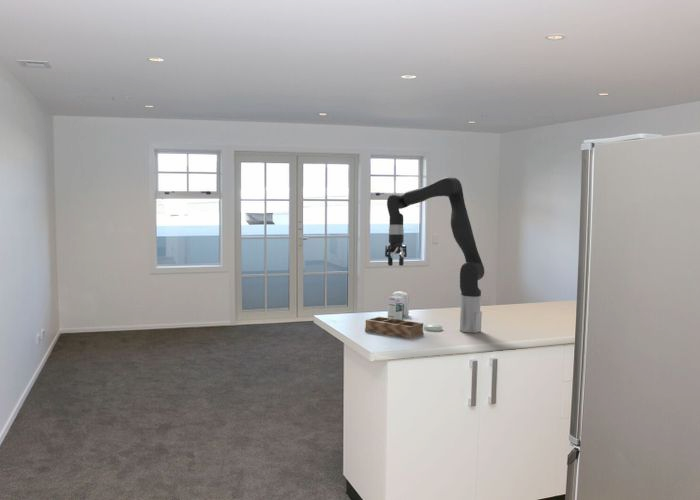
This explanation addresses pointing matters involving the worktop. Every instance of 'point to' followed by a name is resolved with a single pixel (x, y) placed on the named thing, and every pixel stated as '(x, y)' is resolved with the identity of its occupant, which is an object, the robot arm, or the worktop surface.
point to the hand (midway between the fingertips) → (395, 265)
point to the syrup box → (396, 307)
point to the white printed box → (406, 301)
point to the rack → (394, 327)
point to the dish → (432, 327)
